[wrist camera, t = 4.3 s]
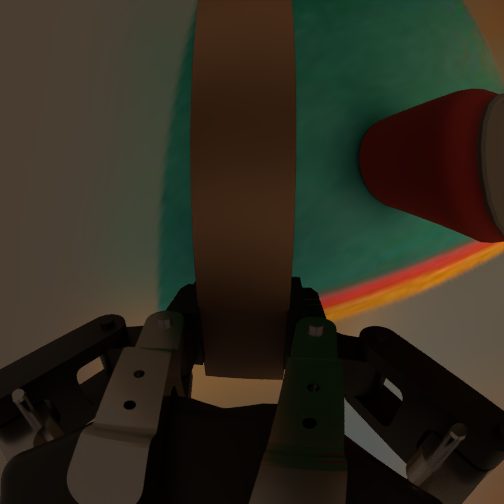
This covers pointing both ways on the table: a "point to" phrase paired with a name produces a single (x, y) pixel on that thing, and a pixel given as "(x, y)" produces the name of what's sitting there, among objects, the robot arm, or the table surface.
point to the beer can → (442, 162)
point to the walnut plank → (243, 182)
